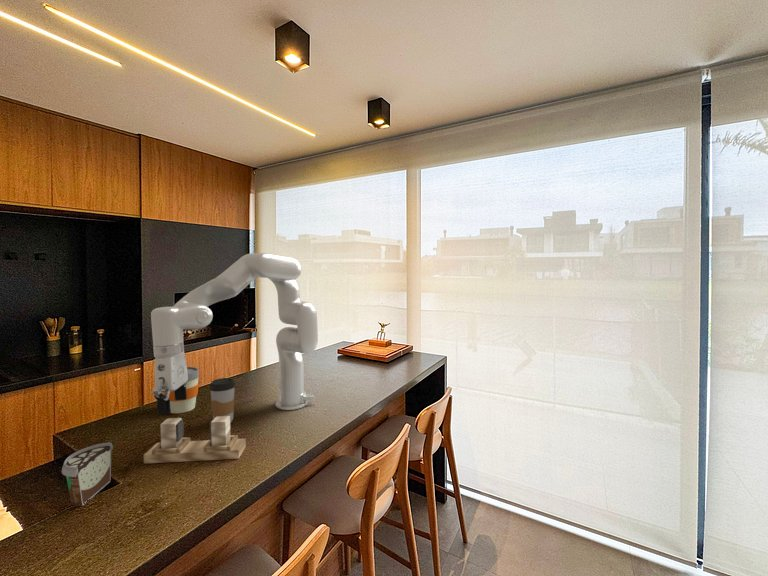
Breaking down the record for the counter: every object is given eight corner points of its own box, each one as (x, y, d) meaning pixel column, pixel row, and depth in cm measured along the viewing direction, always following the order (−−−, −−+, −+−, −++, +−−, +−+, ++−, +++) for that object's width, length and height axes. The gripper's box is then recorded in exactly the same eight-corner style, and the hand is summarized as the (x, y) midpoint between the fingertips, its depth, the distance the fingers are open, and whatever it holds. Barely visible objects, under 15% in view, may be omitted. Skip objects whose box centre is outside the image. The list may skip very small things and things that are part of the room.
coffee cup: (241, 418, 128) (240, 378, 127) (223, 428, 120) (222, 386, 119) (223, 415, 131) (222, 376, 130) (205, 425, 123) (203, 383, 122)
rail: (245, 446, 108) (245, 413, 108) (238, 458, 101) (237, 423, 101) (157, 450, 106) (156, 416, 105) (143, 463, 99) (142, 427, 98)
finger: (184, 443, 105) (183, 417, 104) (178, 450, 101) (177, 423, 101) (168, 444, 104) (167, 418, 104) (161, 451, 100) (160, 424, 100)
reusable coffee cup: (183, 416, 130) (182, 377, 129) (155, 413, 132) (153, 375, 131) (207, 403, 142) (206, 367, 141) (180, 401, 144) (179, 365, 144)
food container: (89, 479, 91) (87, 442, 91) (114, 478, 92) (112, 441, 91) (48, 512, 79) (46, 469, 79) (77, 510, 80) (75, 468, 79)
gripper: (167, 357, 93) (171, 418, 94) (195, 341, 110) (198, 394, 111) (137, 358, 92) (142, 420, 93) (170, 342, 109) (174, 395, 111)
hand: (173, 406), depth 102 cm, fingers open, 9 cm apart
